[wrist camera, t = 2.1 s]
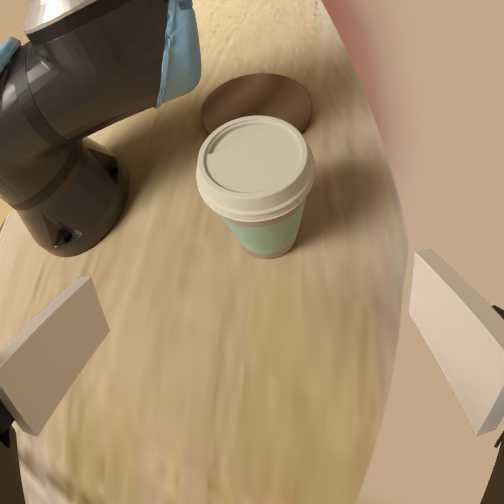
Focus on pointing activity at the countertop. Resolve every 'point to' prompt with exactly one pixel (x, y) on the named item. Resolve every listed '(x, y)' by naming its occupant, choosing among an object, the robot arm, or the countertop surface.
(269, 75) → the walnut trivet
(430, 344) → the robot arm
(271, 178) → the coffee cup
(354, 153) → the countertop surface
